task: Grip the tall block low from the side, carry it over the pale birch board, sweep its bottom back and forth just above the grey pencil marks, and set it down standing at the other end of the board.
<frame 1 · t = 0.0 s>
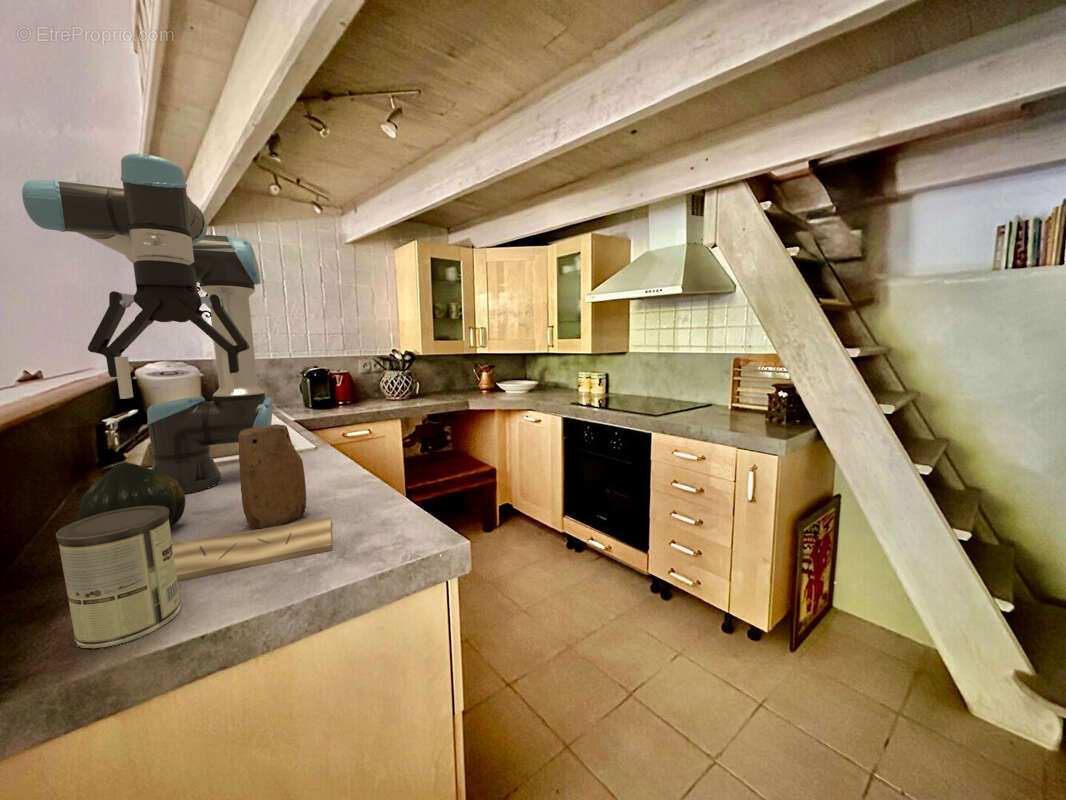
hand: (180, 395, 71), 28 cm above the table, tool pointing down, fingers open, 13 cm apart
block: (277, 521, 89), on the table
squash: (137, 536, 83), on the table
coffee can: (131, 624, 56), on the table
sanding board: (243, 551, 75), on the table
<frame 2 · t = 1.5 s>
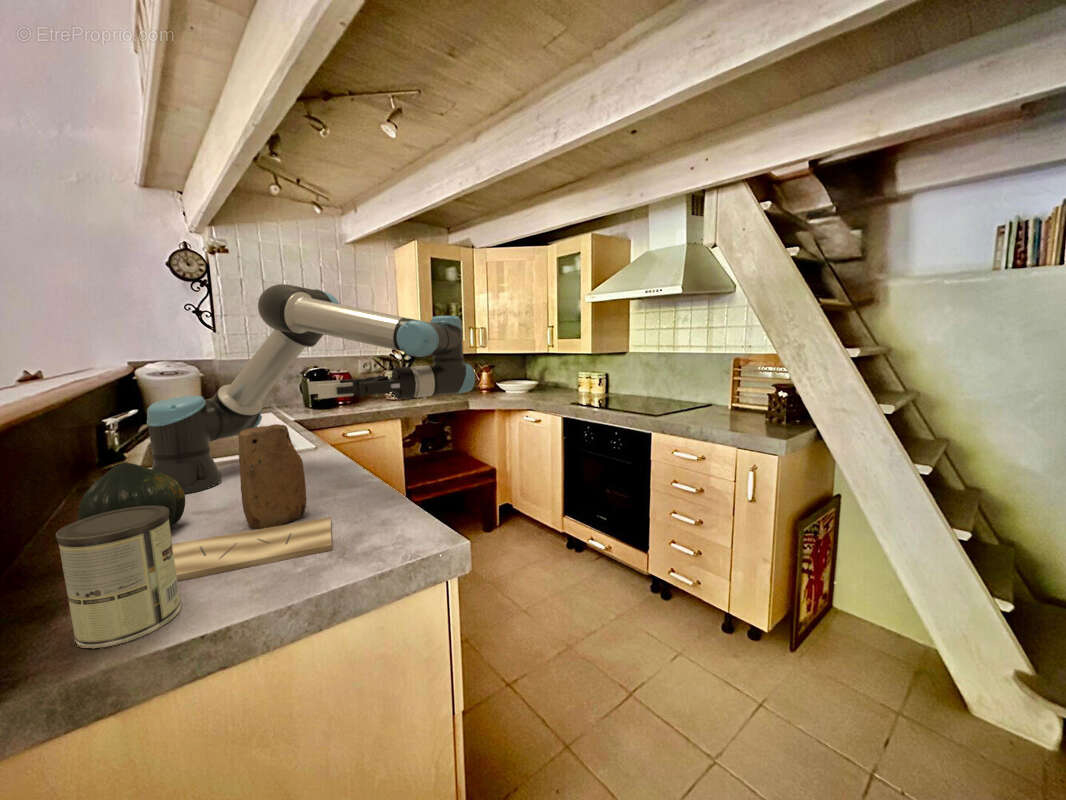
hand: (312, 389, 90), 27 cm above the table, tool horizontal, fingers open, 13 cm apart
nothing on the table moved.
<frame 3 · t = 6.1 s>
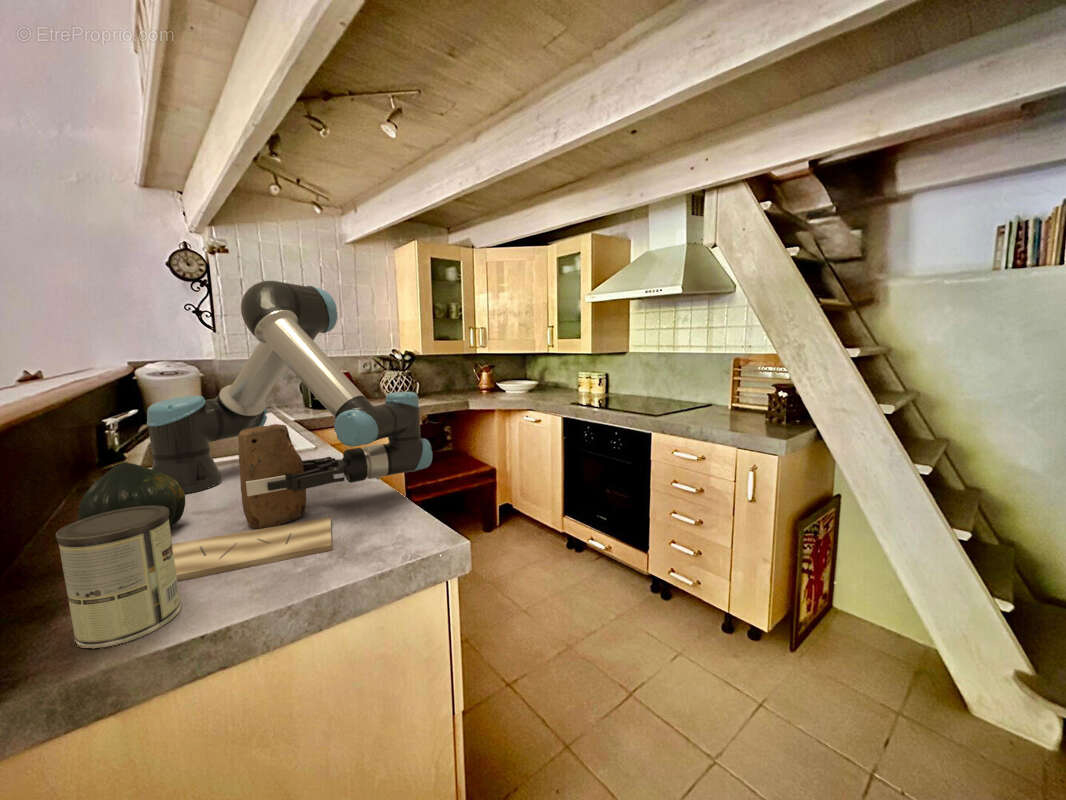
hand: (245, 483, 85), 9 cm above the table, tool horizontal, fingers closed on block, 8 cm apart
block: (277, 521, 89), on the table, touching gripper
everything else where it was.
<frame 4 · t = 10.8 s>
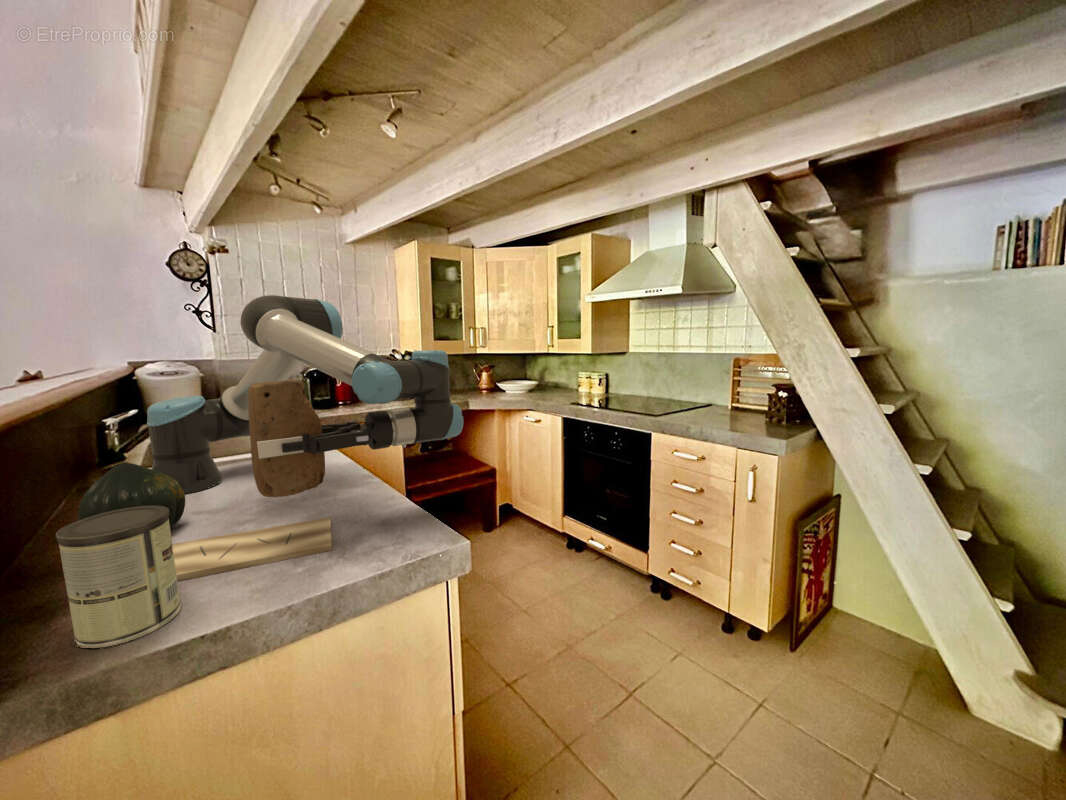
hand: (256, 445, 74), 19 cm above the table, tool horizontal, fingers closed on block, 8 cm apart
block: (292, 491, 77), point 10 cm above the table, touching gripper
everything else where it was.
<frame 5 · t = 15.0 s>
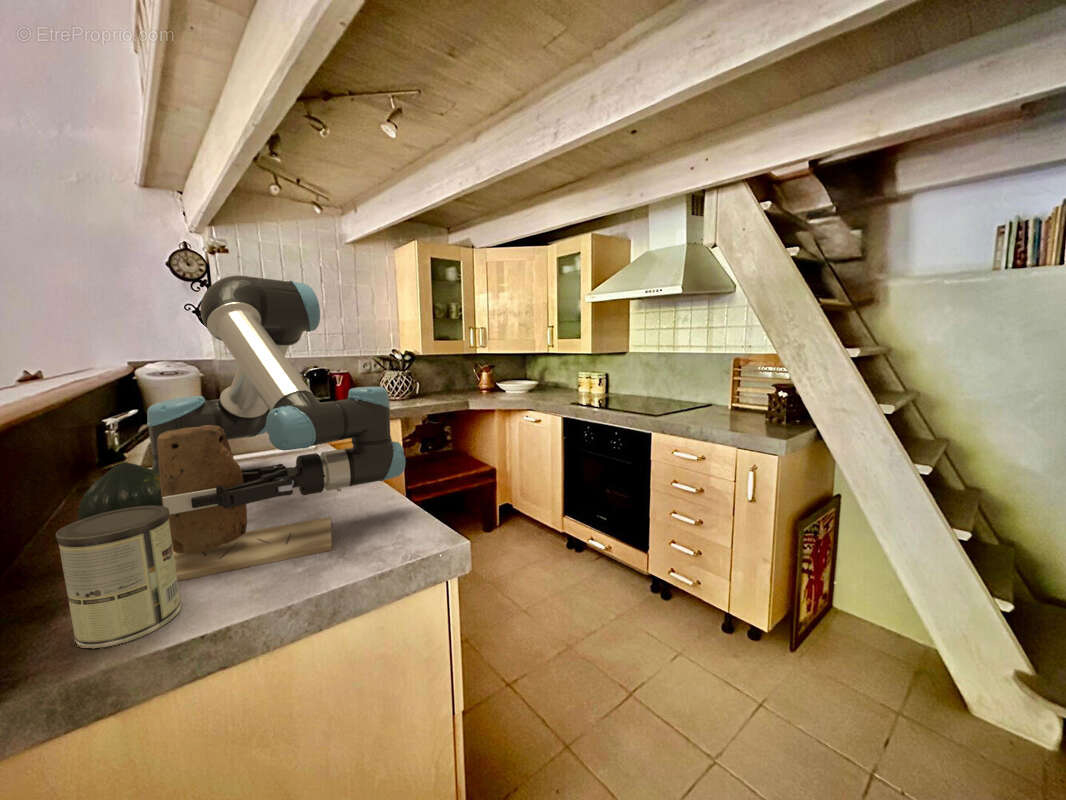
hand: (167, 498, 69), 12 cm above the table, tool horizontal, fingers closed on block, 8 cm apart
block: (210, 544, 73), point 3 cm above the table, touching gripper
everything else where it was.
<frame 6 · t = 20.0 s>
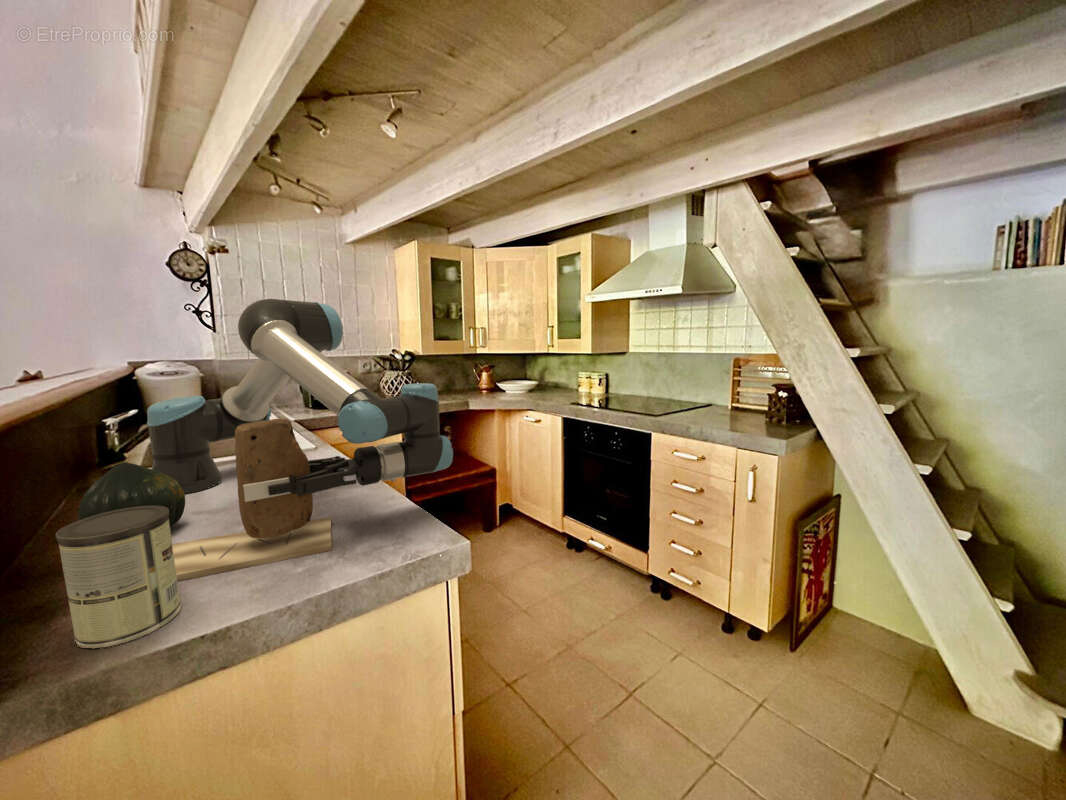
hand: (243, 486, 74), 12 cm above the table, tool horizontal, fingers closed on block, 8 cm apart
block: (280, 530, 77), point 3 cm above the table, touching gripper
everything else where it was.
when the fingers open (11 cm above the table, at t = 24.2 s): block stays where it is, resting on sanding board.
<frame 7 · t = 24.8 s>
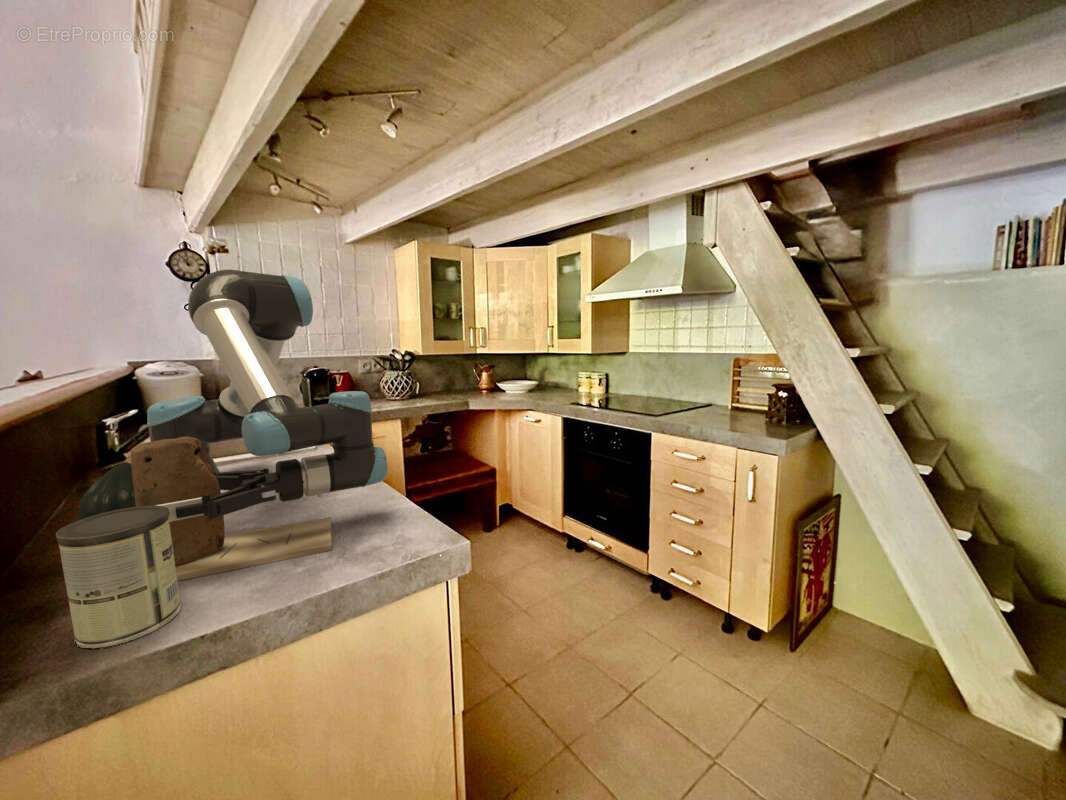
hand: (153, 503, 69), 11 cm above the table, tool horizontal, fingers open, 13 cm apart
block: (187, 556, 72), point 1 cm above the table, touching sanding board
everything else where it was.
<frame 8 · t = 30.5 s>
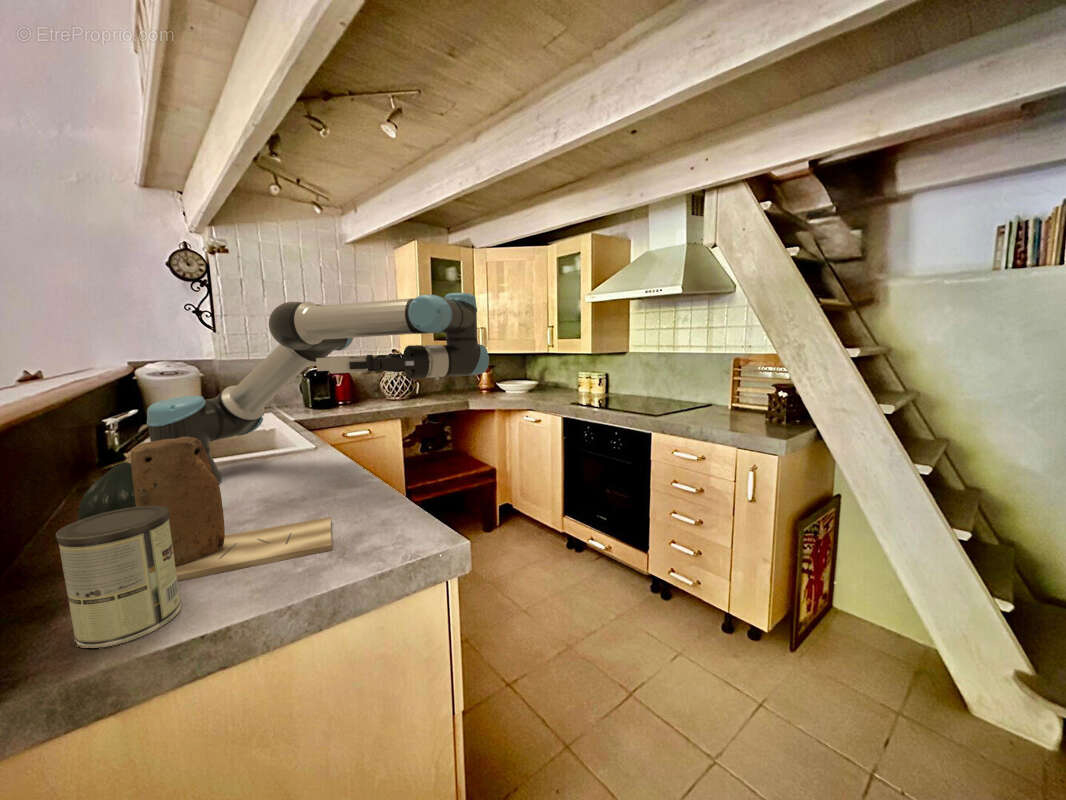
hand: (322, 365, 85), 32 cm above the table, tool horizontal, fingers open, 13 cm apart
nothing on the table moved.
at the end: block inside the target area (0.1 cm from its centre), point 0.8 cm above the table; block tilted 0°; the gripper is holding nothing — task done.
